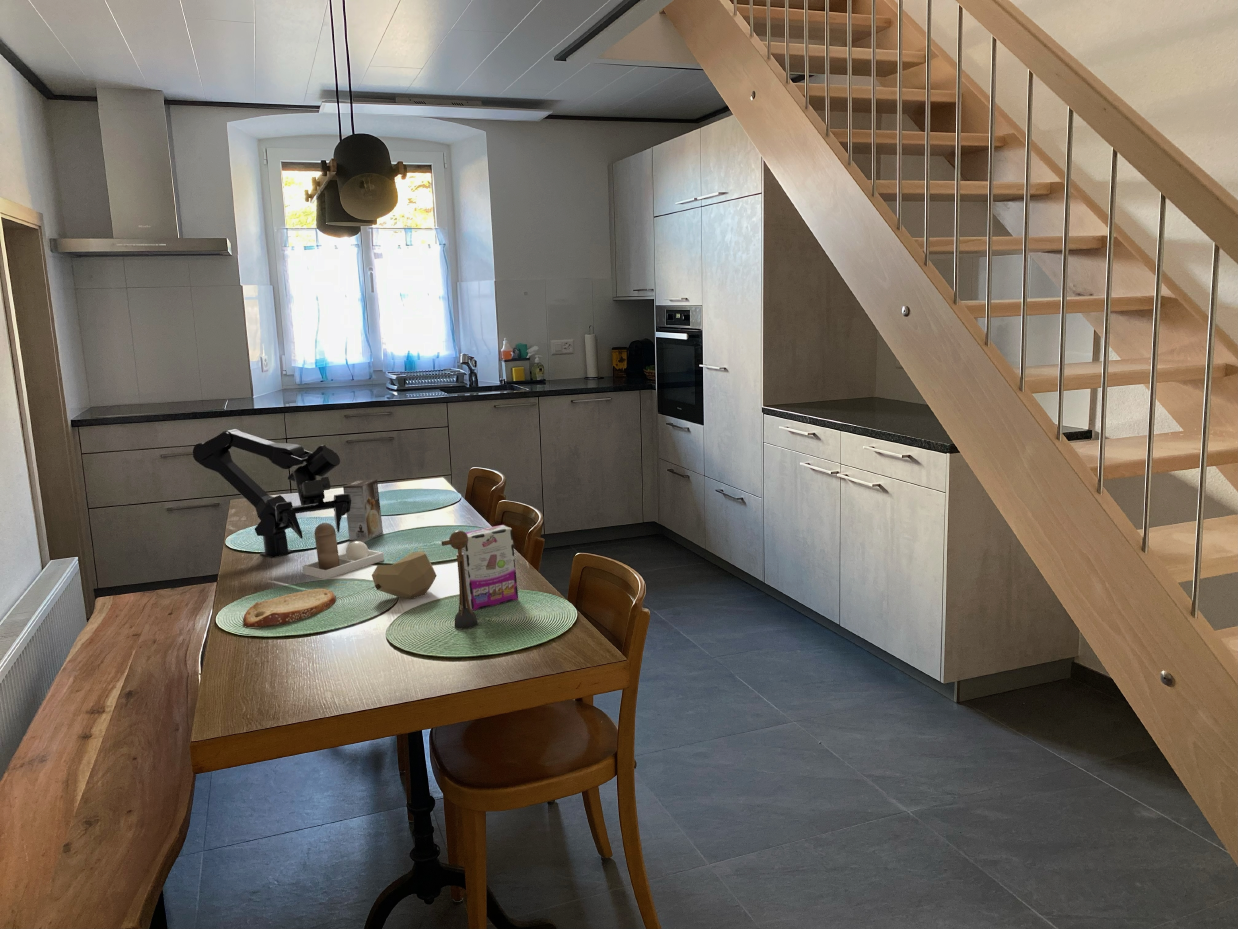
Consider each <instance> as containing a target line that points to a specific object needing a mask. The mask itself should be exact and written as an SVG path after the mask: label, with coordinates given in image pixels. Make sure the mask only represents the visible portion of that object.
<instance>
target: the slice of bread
mask: <svg viewBox="0 0 1238 929" xmlns="http://www.w3.org/2000/svg"><path fill="white" fill-rule="evenodd" d="M336 602H337V597H336V596H335V594H334V592H333V591H331V590H328V589H325V588H315V589H308V590H304V591H297V592H293V593H289V594H286V595H282V596H278V597H274V598H271V599H267V600H261V601H257V602H255V603H254V604H253V605H252V606H250V607H249V608H248V609H247V610H246V611H245V613H244V616H243V619H242V624H243V627H244V626H246V627H245V628H247V627H261V628H266V627H265V626H267V627H274V626H273V625H276V626H280V625H279V624H282V625H286V624H285V623H287V624H291V623H294V622H298V621H300V620H303V619H306V618H310V617H312V616H314V615H316V614H319V613H322V612H323V611H326V610H327V608H328V609H329V608H330V607H332V606H334V605H335V603H336ZM297 620H298V621H297ZM293 621H294V622H293ZM290 622H291V623H290Z"/></svg>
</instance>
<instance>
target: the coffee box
mask: <svg viewBox="0 0 1238 929" xmlns="http://www.w3.org/2000/svg"><path fill="white" fill-rule="evenodd" d="M342 488H343V494H345V493H347V494H349V495H350V497H351V507H350V511H349V512H348V513H346V515H345V516H346V522H347V529H348V530H347V531H348V538H349V540H350V541H358V540H360V539H361V540H368V539H371V538H373V537H376V536H378V535H380V534H381V533H384V530H383V519H382V511H381V501H380V495H379V494H380V493H379V486H378V479H357V480H355V481H352V482H350V483H348V484H345V485H343V486H342Z"/></svg>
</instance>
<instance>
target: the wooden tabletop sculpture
mask: <svg viewBox="0 0 1238 929" xmlns="http://www.w3.org/2000/svg"><path fill="white" fill-rule="evenodd" d="M467 544H468V535H467V534H466V533H465V531H463V530H462V529H461V530H460V529H459V530H455V531H453V532H452V533H451V534H450V536H449V539H445V540H441V546H442V547H444V546H449V545H450V546H451V548H453V549H454V550H457V553H456V554H455V555H456V562H457V571H458V572H457V576H458V586H459V587H458V588H459V589H458V590H459V591H458V592H459V597H458V598H459V599H458V601H459V603H458V611H457V613H456V614H455V617H454V628H455V629H458V630H469V629H472V628H476V626H478V625H479V624H478V617H477V614H476V612H474V610H471V607H470V604H469V599H468V593H467V586H466V578H465V567H464V556H463V555H464V553H462V548H465V547H466V545H467ZM466 603H467V606H466Z"/></svg>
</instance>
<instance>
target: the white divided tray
mask: <svg viewBox="0 0 1238 929" xmlns="http://www.w3.org/2000/svg"><path fill="white" fill-rule="evenodd" d="M338 555H339V563H340V566H337V567H334V568H331V569H328V570H322V569H319V564H318V561H314V562H311V563H308V564H305V565H302V573H303V575H306V576H310V577H315V578H320V579H324V580H328V579H331V578H334V577H337V576H340V575H343V574H347V573H349V572H351V571H352V572H353V571H356V570H358V569H363V568H364V567H367V566H370V565H373V564H377V563H379V562H382V561H385V557H384V551H383V552H382V551H377V550H372V549H368V556H367V557H365V558H362V559H359V560H356V561H352V560H349V559H348V558H347V556H346V552H344V553H341V554H338Z"/></svg>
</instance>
